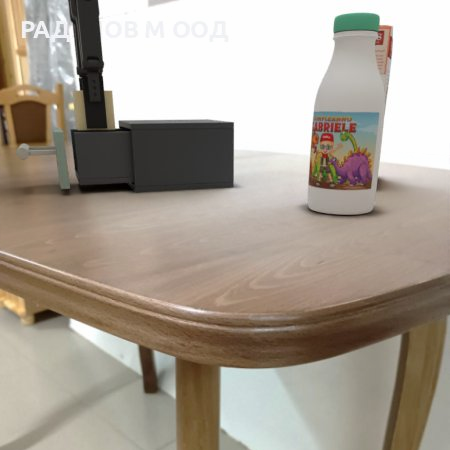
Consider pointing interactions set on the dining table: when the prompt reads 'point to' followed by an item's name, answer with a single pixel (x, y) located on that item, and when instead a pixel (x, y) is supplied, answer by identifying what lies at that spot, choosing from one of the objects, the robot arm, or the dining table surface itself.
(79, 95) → the block
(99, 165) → the drawer
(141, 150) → the dark grey box
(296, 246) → the dining table surface
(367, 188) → the milk bottle
